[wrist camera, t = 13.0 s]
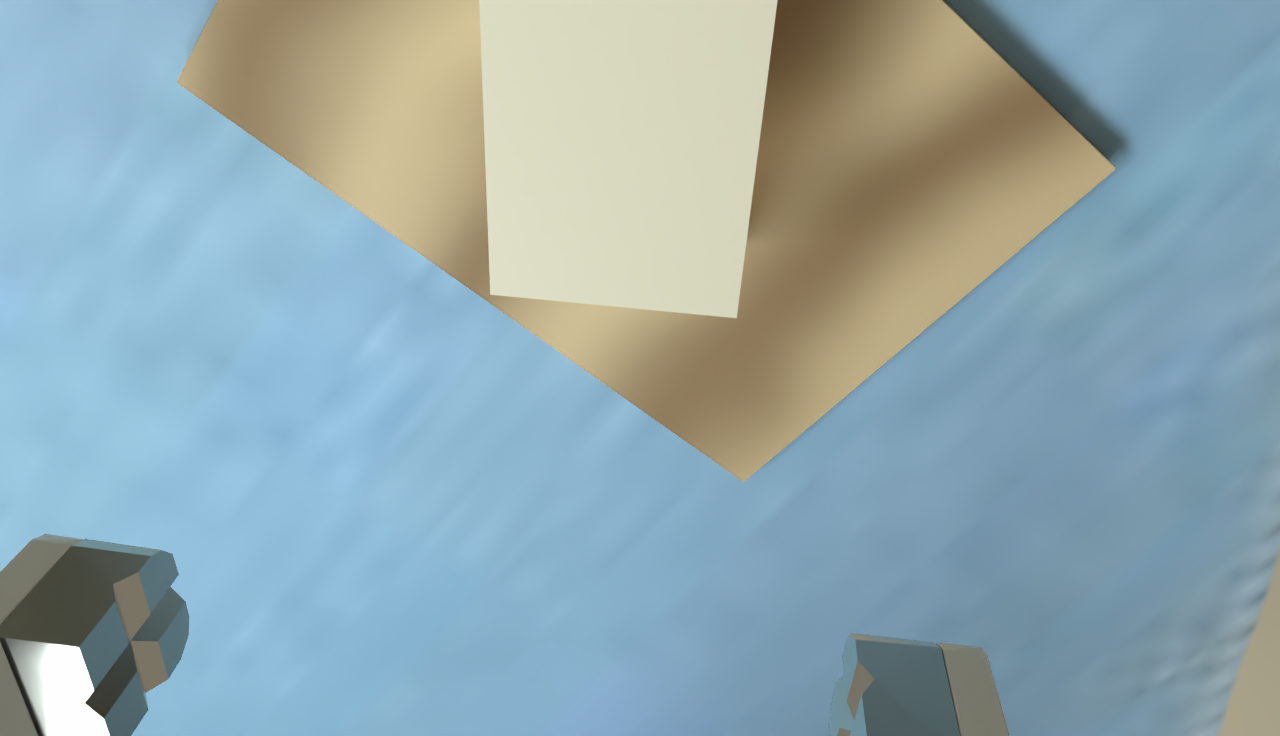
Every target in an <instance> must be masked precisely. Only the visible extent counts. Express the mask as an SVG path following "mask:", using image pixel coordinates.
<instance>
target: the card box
mask: <svg viewBox="0 0 1280 736" xmlns="http://www.w3.org/2000/svg"><path fill="white" fill-rule="evenodd" d="M776 8H777V0H479V9H480V36H481V62H482V89H483V115H484V142H485V168H486V195H487V222H488V248H489V275H490V295H498V296H509V297H519V298H530V299H540V300H550V301H561V302H571V303H582V304H592V305H603V306H613V307H624V308H634V309H645V310H655V311H666V312H676V313H687V314H697V315H708V316H718V317H729V318H737V312H738V304H739V296H740V288H741V281H742V273H743V265H744V257H745V250H746V242H747V234H748V226H749V218H750V211H751V203H752V195H753V187H754V179H755V172H756V164H757V156H758V148H759V140H760V133H761V125H762V117H763V109H764V102H765V94H766V86H767V78H768V70H769V63H770V55H771V47H772V39H773V31H774V24H775V16H776Z"/></svg>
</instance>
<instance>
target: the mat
mask: <svg viewBox="0 0 1280 736" xmlns="http://www.w3.org/2000/svg"><path fill="white" fill-rule="evenodd" d="M177 83H178V84H180V85H181V86H182V87H184V88H185V89H187V90H188V91H190V92H191V93H192V94H194V95H195V96H197V97H198V98H199V99H201V100H202V101H204V102H205V103H207V104H208V105H209V106H211V107H212V108H214V109H215V110H216V111H218V112H219V113H221V114H222V115H224V116H225V117H226V118H228V119H229V120H231V121H232V122H234V123H235V124H236V125H238V126H239V127H241V128H242V129H243V130H245V131H246V132H248V133H249V134H251V135H252V136H253V137H255V138H256V139H258V140H259V141H260V142H262V143H263V144H265V145H266V146H268V147H269V148H270V149H272V150H273V151H275V152H276V153H278V154H279V155H280V156H282V157H283V158H285V159H286V160H287V161H289V162H290V163H292V164H293V165H295V166H296V167H297V168H299V169H300V170H302V171H303V172H304V173H306V174H307V175H309V176H310V177H312V178H313V179H314V180H316V181H317V182H319V183H320V184H322V185H323V186H324V187H326V188H327V189H329V190H330V191H331V192H333V193H334V194H336V195H337V196H339V197H340V198H341V199H343V200H344V201H346V202H347V203H348V204H350V205H351V206H353V207H354V208H356V209H357V210H358V211H360V212H361V213H363V214H364V215H366V216H367V217H368V218H370V219H371V220H373V221H374V222H375V223H377V224H378V225H380V226H381V227H383V228H384V229H385V230H387V231H388V232H390V233H391V234H392V235H394V236H395V237H397V238H398V239H400V240H401V241H402V242H404V243H405V244H407V245H408V246H410V247H411V248H412V249H414V250H415V251H417V252H418V253H419V254H421V255H422V256H424V257H425V258H427V259H428V260H429V261H431V262H432V263H434V264H435V265H436V266H438V267H439V268H441V269H442V270H444V271H445V272H446V273H448V274H449V275H451V276H452V277H453V278H455V279H456V280H458V281H459V282H461V283H462V284H463V285H465V286H466V287H468V288H469V289H471V290H472V291H473V292H475V293H476V294H478V295H479V296H480V297H482V298H483V299H485V300H486V301H488V302H489V303H490V304H492V305H493V306H495V307H496V308H497V309H499V310H500V311H502V312H503V313H505V314H506V315H507V316H509V317H510V318H512V319H513V320H515V321H516V322H517V323H519V324H520V325H522V326H523V327H524V328H526V329H527V330H529V331H530V332H532V333H533V334H534V335H536V336H537V337H539V338H540V339H541V340H543V341H544V342H546V343H547V344H549V345H550V346H551V347H553V348H554V349H556V350H557V351H559V352H560V353H561V354H563V355H564V356H566V357H567V358H568V359H570V360H571V361H573V362H574V363H576V364H577V365H578V366H580V367H581V368H583V369H584V370H585V371H587V372H588V373H590V374H591V375H593V376H594V377H595V378H597V379H598V380H600V381H601V382H603V383H604V384H605V385H607V386H608V387H610V388H611V389H612V390H614V391H615V392H617V393H618V394H620V395H621V396H622V397H624V398H625V399H627V400H628V401H629V402H631V403H632V404H634V405H635V406H637V407H638V408H639V409H641V410H642V411H644V412H645V413H646V414H648V415H649V416H651V417H652V418H654V419H655V420H656V421H658V422H659V423H661V424H662V425H664V426H665V427H666V428H668V429H669V430H671V431H672V432H673V433H675V434H676V435H678V436H679V437H681V438H682V439H683V440H685V441H686V442H688V443H689V444H690V445H692V446H693V447H695V448H696V449H698V450H699V451H700V452H702V453H703V454H705V455H706V456H708V457H709V458H710V459H712V460H713V461H715V462H716V463H717V464H719V465H720V466H722V467H723V468H725V469H726V470H727V471H729V472H730V473H732V474H733V475H734V476H736V477H737V478H739V479H740V480H742V481H743V482H744V481H746V480H747V479H748V478H749V477H750V476H752V475H753V474H754V473H755V472H756V471H758V470H759V469H760V468H761V467H762V466H763V465H765V464H766V463H767V462H768V461H769V460H771V459H772V458H773V457H774V456H775V455H777V454H778V453H779V452H780V451H781V450H782V449H784V448H785V447H786V446H787V445H788V444H790V443H791V442H792V441H793V440H794V439H796V438H797V437H798V436H799V435H800V434H802V433H803V432H804V431H805V430H806V429H807V428H809V427H810V426H811V425H812V424H813V423H815V422H816V421H817V420H818V419H819V418H821V417H822V416H823V415H824V414H825V413H826V412H828V411H829V410H830V409H831V408H832V407H834V406H835V405H836V404H837V403H838V402H840V401H841V400H842V399H843V398H844V397H846V396H847V395H848V394H849V393H850V392H851V391H853V390H854V389H855V388H856V387H857V386H859V385H860V384H861V383H862V382H863V381H865V380H866V379H867V378H868V377H869V376H870V375H872V374H873V373H874V372H875V371H876V370H878V369H879V368H880V367H881V366H882V365H884V364H885V363H886V362H887V361H888V360H890V359H891V358H892V357H893V356H894V355H895V354H897V353H898V352H899V351H900V350H901V349H903V348H904V347H905V346H906V345H907V344H909V343H910V342H911V341H912V340H913V339H914V338H916V337H917V336H918V335H919V334H920V333H922V332H923V331H924V330H925V329H926V328H928V327H929V326H930V325H931V324H932V323H933V322H935V321H936V320H937V319H938V318H939V317H941V316H942V315H943V314H944V313H945V312H947V311H948V310H949V309H950V308H951V307H953V306H954V305H955V304H956V303H957V302H958V301H960V300H961V299H962V298H963V297H964V296H966V295H967V294H968V293H969V292H970V291H972V290H973V289H974V288H975V287H976V286H977V285H979V284H980V283H981V282H982V281H983V280H985V279H986V278H987V277H988V276H989V275H991V274H992V273H993V272H994V271H995V270H997V269H998V268H999V267H1000V266H1001V265H1002V264H1004V263H1005V262H1006V261H1007V260H1008V259H1010V258H1011V257H1012V256H1013V255H1014V254H1016V253H1017V252H1018V251H1019V250H1020V249H1021V248H1023V247H1024V246H1025V245H1026V244H1027V243H1029V242H1030V241H1031V240H1032V239H1033V238H1035V237H1036V236H1037V235H1038V234H1039V233H1041V232H1042V231H1043V230H1044V229H1045V228H1046V227H1048V226H1049V225H1050V224H1051V223H1052V222H1054V221H1055V220H1056V219H1057V218H1058V217H1060V216H1061V215H1062V214H1063V213H1064V212H1065V211H1067V210H1068V209H1069V208H1070V207H1071V206H1073V205H1074V204H1075V203H1076V202H1077V201H1079V200H1080V199H1081V198H1082V197H1083V196H1084V195H1086V194H1087V193H1088V192H1089V191H1090V190H1092V189H1093V188H1094V187H1095V186H1096V185H1098V184H1099V183H1100V182H1101V181H1102V180H1104V179H1105V178H1106V177H1107V176H1108V175H1109V174H1111V173H1112V172H1113V171H1114V170H1115V169H1116V168H1115V167H1114V166H1113V165H1112V164H1111V162H1110V161H1109V160H1108V159H1107V158H1106V157H1105V156H1104V155H1103V154H1102V153H1101V152H1100V151H1099V150H1098V149H1097V148H1096V147H1095V146H1093V145H1092V144H1091V143H1090V142H1089V141H1088V140H1087V139H1086V138H1085V137H1084V136H1083V135H1082V134H1081V133H1080V132H1079V131H1078V130H1077V129H1076V128H1075V127H1074V126H1073V125H1072V124H1071V123H1070V122H1069V121H1068V120H1067V119H1066V118H1065V117H1063V116H1062V115H1061V114H1060V113H1059V112H1058V111H1057V110H1056V109H1055V108H1054V107H1053V106H1052V105H1051V104H1050V103H1049V102H1048V101H1047V100H1046V99H1045V98H1044V97H1043V96H1042V95H1041V94H1040V93H1039V92H1038V91H1037V90H1036V89H1035V88H1034V87H1032V86H1031V85H1030V84H1029V83H1028V82H1027V81H1026V80H1025V79H1024V78H1023V77H1022V76H1021V75H1020V74H1019V73H1018V72H1017V71H1016V70H1015V69H1014V68H1013V67H1012V66H1011V65H1010V64H1009V63H1008V62H1007V61H1006V60H1005V59H1004V58H1002V57H1001V56H1000V55H999V54H998V53H997V52H996V51H995V50H994V49H993V48H992V47H991V46H990V45H989V44H988V43H987V42H986V41H985V40H984V39H983V38H982V37H981V36H980V35H979V34H978V33H977V32H976V31H975V30H974V29H972V28H971V27H970V26H969V25H968V24H967V23H966V22H965V21H964V20H963V19H962V18H961V17H960V16H959V15H958V14H957V13H956V12H955V11H954V10H953V9H952V8H951V7H950V6H949V5H948V4H947V3H946V2H945V1H944V0H777V8H776V16H775V24H774V31H773V39H772V47H771V55H770V63H769V70H768V78H767V86H766V94H765V102H764V109H763V117H762V125H761V133H760V140H759V148H758V156H757V164H756V172H755V179H754V187H753V195H752V203H751V211H750V218H749V226H748V234H747V242H746V250H745V257H744V265H743V273H742V281H741V288H740V296H739V304H738V312H737V318H729V317H718V316H708V315H697V314H687V313H676V312H666V311H655V310H645V309H634V308H624V307H613V306H603V305H592V304H582V303H571V302H561V301H550V300H540V299H530V298H519V297H509V296H498V295H490V275H489V248H488V222H487V195H486V168H485V142H484V115H483V89H482V62H481V36H480V9H479V0H218V2H217V4H216V6H215V8H214V10H213V12H212V14H211V16H210V18H209V20H208V21H207V23H206V25H205V27H204V29H203V31H202V33H201V35H200V37H199V39H198V41H197V43H196V45H195V47H194V49H193V51H192V53H191V55H190V57H189V59H188V61H187V63H186V65H185V67H184V69H183V71H182V73H181V75H180V77H179V78H178V80H177Z"/></svg>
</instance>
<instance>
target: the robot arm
mask: <svg viewBox="0 0 1280 736" xmlns="http://www.w3.org/2000/svg"><path fill="white" fill-rule="evenodd" d="M178 575H179V574H178V571H177V567H176V564H175V561H174V558H173V554H171V553H168V552H165V551H163V550H157V549H150V548H143V547H137V546H130V545H123V544H116V543H109V542H103V541H96V540H89V539H77V538H70V537H64V536H57V535H50V534H45V535H42V536H40V537H37V538H35V539H33V540H31V541H30V542H29V543H28V544H27V545H26V546H25V547H24V548H23V549H22V550H21V551H20V552H19V553H18V554H17V555H16V556H15V557H14V558H13V559H12V560H11V561H10V563H9V564H8V565H7V566H6V567H5V568H4V569H3V570H2V571H1V572H0V736H131V735H132V733H133V732H134V730H135V729H136V727H137V726H138V724H139V723H140V721H141V720H142V718H143V717H144V715H145V714H146V712H147V711H148V705H147V698H146V692H148V691H149V690H151V689H153V688H154V687H156V686H158V685H159V684H161V683H162V682H164V681H166V680H167V679H169V677H170V676H171V674H172V672H173V671H174V669H175V668H176V666H177V664H178V663H179V661H180V660H181V657H182V654H183V651H184V648H185V644H186V641H187V638H188V635H189V614H188V610H187V606H186V602H185V601H184V600H183V599H182V598H181V597H180V596H179V595H178V594H177V593H176V592H175V591H174V590H173V589H172V588H171V587H170V586H171V585H172V583H173V582H174V580H175V579H176V578H177V576H178ZM842 658H843V669H844V677H843V678H841V679H840V680H839V681H837V682H836V683H835V688H834V693H833V697H832V702H831V710H830V720H829V736H1009V733H1008V729H1007V725H1006V722H1005V718H1004V714H1003V711H1002V707H1001V704H1000V700H999V696H998V693H997V689H996V686H995V682H994V678H993V675H992V671H991V667H990V664H989V660H988V657H987V654H986V653H985V652H984V651H983V650H982V648H978V647H969V646H960V645H951V644H942V643H937V644H935V643H933V642H925V641H916V640H907V639H898V638H889V637H880V636H871V635H862V634H853V633H850V635H849V637H848V639H847V641H846V644H845V648H844V652H843V655H842Z"/></svg>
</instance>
